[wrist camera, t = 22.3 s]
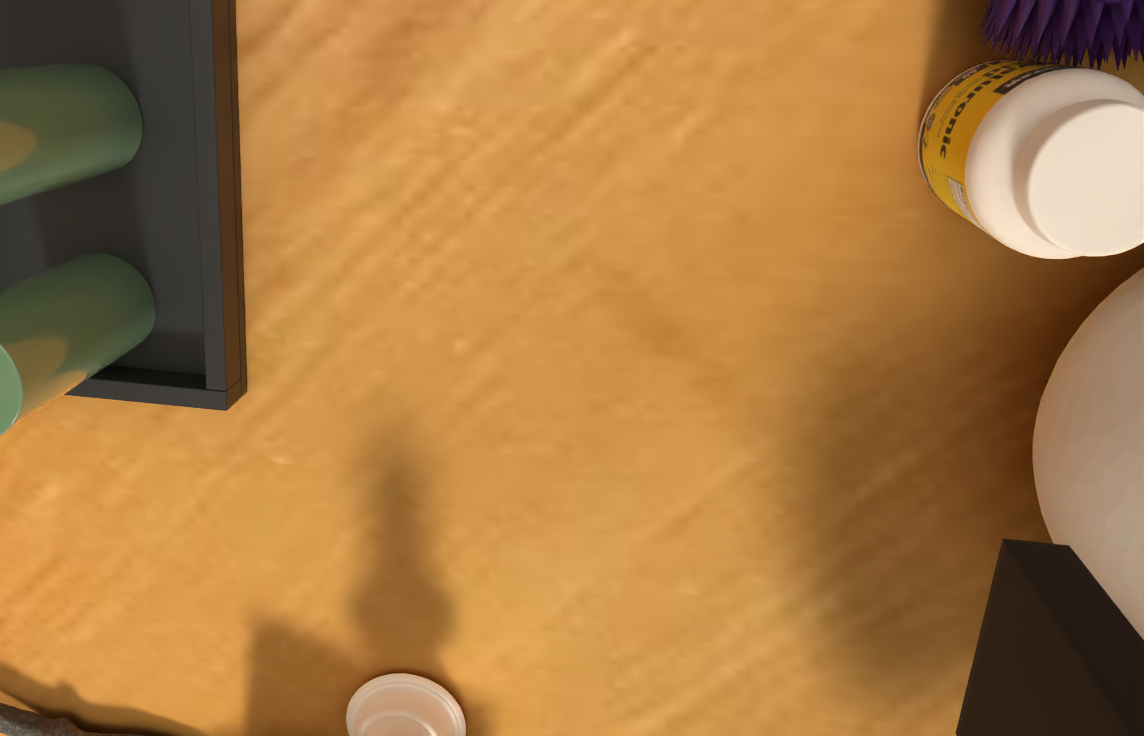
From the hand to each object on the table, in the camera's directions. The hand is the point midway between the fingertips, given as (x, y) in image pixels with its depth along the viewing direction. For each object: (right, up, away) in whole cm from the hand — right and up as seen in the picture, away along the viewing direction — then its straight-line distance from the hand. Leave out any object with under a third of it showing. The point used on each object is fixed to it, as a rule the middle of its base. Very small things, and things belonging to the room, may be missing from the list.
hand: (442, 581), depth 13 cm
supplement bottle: (+16, +11, +23) cm, 30 cm away
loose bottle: (-16, +5, +27) cm, 32 cm away
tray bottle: (-16, +12, +25) cm, 32 cm away
